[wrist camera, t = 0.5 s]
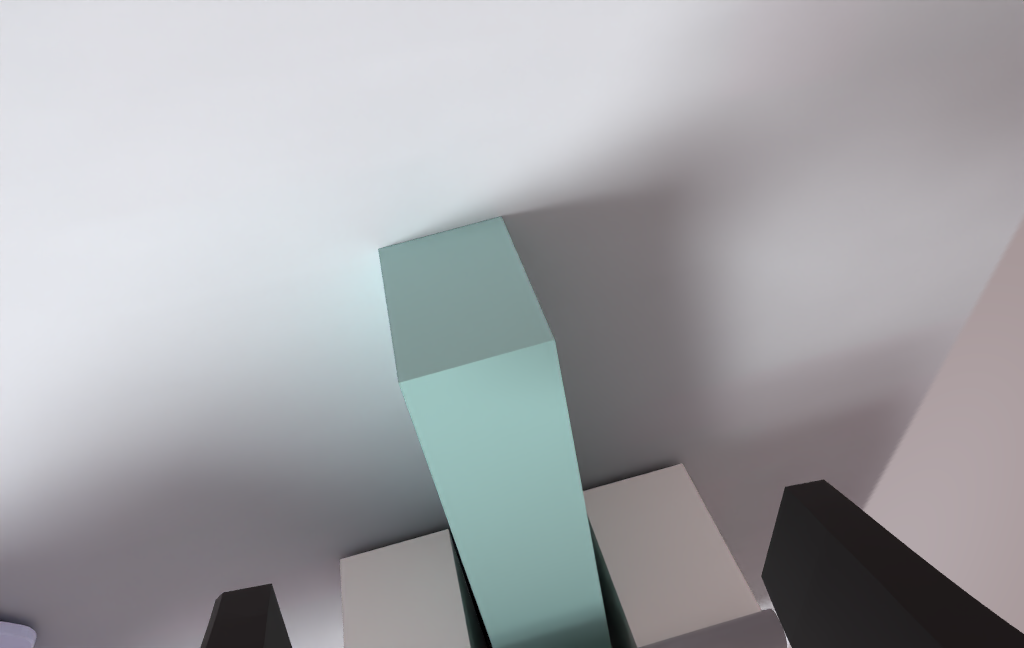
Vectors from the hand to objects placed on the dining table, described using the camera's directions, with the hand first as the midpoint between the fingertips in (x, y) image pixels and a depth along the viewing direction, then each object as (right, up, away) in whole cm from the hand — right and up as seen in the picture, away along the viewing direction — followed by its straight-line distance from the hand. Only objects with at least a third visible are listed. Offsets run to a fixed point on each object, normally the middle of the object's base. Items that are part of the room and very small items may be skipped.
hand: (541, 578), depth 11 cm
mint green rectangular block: (-1, -1, +12) cm, 12 cm away
